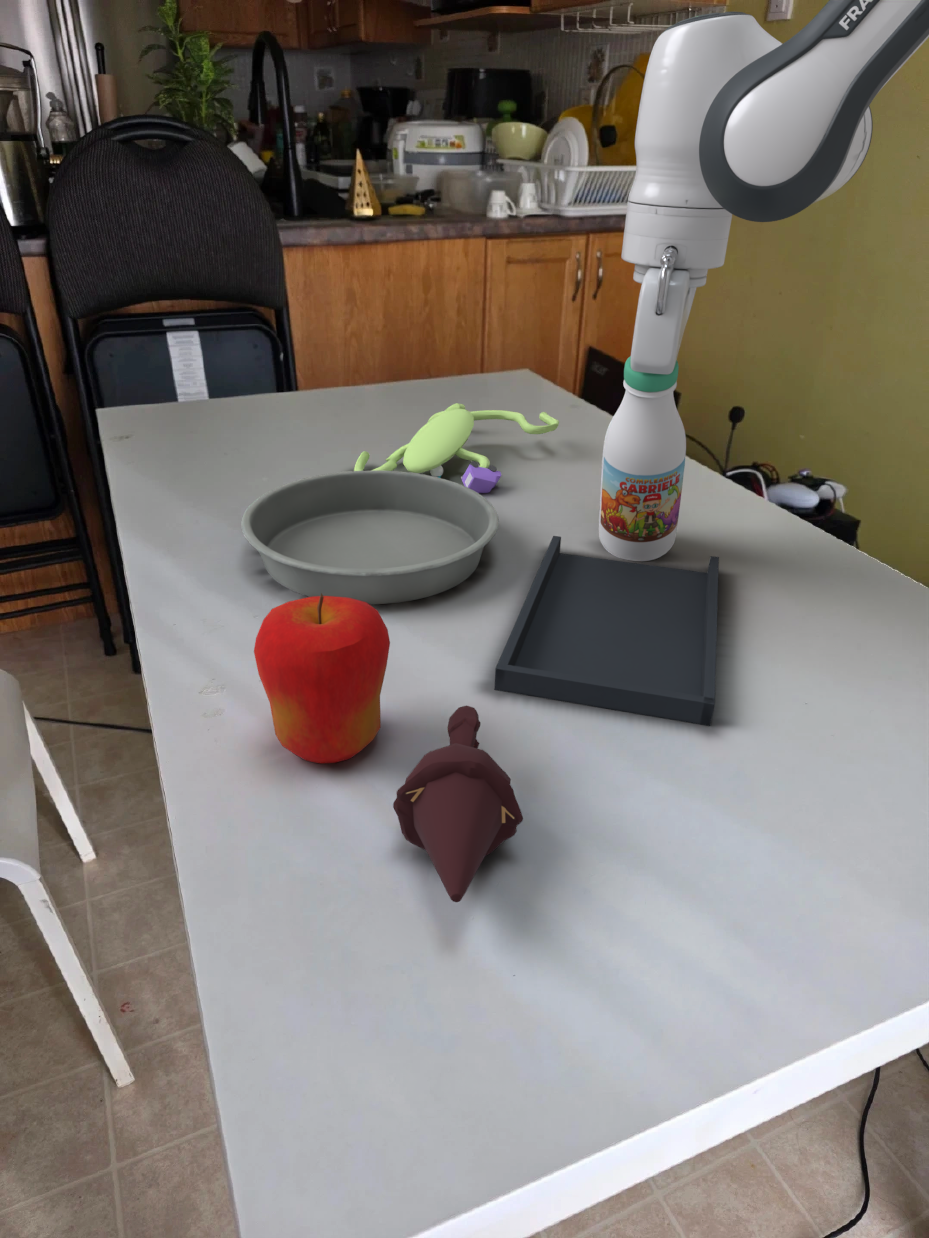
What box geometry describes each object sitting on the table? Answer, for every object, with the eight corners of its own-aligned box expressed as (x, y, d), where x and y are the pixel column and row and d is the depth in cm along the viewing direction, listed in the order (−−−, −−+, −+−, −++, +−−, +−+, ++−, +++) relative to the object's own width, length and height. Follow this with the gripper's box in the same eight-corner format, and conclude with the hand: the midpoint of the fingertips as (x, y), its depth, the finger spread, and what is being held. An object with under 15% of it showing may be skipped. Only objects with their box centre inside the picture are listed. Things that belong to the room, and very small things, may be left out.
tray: (551, 555, 89) (553, 535, 88) (715, 577, 85) (718, 556, 84) (494, 692, 67) (495, 668, 66) (709, 729, 64) (714, 704, 63)
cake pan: (190, 571, 83) (184, 527, 81) (348, 492, 102) (346, 454, 100) (407, 644, 73) (406, 596, 71) (539, 541, 91) (542, 500, 89)
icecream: (548, 860, 43) (528, 706, 57) (402, 826, 42) (417, 678, 56) (506, 963, 46) (497, 792, 60) (368, 933, 45) (390, 766, 59)
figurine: (570, 449, 118) (574, 407, 115) (473, 513, 97) (474, 465, 95) (451, 425, 125) (452, 386, 123) (337, 480, 105) (335, 434, 102)
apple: (386, 704, 65) (383, 560, 60) (396, 777, 58) (393, 621, 52) (267, 712, 64) (252, 566, 58) (262, 787, 57) (245, 629, 51)
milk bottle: (585, 527, 92) (590, 352, 77) (651, 506, 93) (668, 331, 79) (620, 573, 87) (633, 395, 72) (689, 550, 88) (715, 371, 74)
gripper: (708, 258, 67) (680, 436, 73) (714, 232, 84) (691, 377, 91) (625, 252, 68) (604, 427, 75) (648, 227, 85) (629, 371, 92)
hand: (652, 400), depth 83 cm, fingers closed
